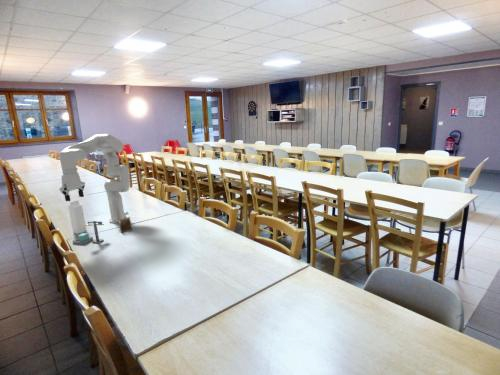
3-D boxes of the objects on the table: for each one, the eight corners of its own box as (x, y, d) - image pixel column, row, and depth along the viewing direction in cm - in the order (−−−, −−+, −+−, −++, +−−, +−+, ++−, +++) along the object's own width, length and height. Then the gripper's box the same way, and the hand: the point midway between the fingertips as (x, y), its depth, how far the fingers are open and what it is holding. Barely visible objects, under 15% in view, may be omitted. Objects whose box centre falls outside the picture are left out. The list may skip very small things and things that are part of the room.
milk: (73, 232, 210) (66, 202, 205) (81, 229, 216) (75, 199, 211) (79, 233, 208) (72, 202, 203) (87, 230, 213) (81, 200, 208)
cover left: (121, 232, 205) (120, 229, 211) (132, 230, 208) (131, 227, 214) (119, 223, 204) (118, 220, 210) (130, 221, 207) (129, 218, 213)
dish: (83, 238, 198) (83, 236, 198) (93, 239, 195) (92, 237, 195) (73, 243, 191) (72, 241, 190) (82, 244, 188) (82, 242, 188)
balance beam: (82, 225, 183) (82, 221, 183) (100, 224, 195) (100, 220, 196) (88, 225, 181) (88, 221, 182) (105, 225, 194) (105, 221, 194)
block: (84, 238, 195) (82, 233, 194) (89, 239, 194) (87, 233, 193) (78, 241, 191) (77, 235, 191) (83, 241, 190) (82, 235, 189)
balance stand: (92, 242, 190) (89, 224, 188) (97, 240, 194) (94, 222, 191) (98, 243, 189) (95, 225, 186) (103, 240, 192) (100, 223, 190)
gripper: (77, 168, 192) (82, 195, 196) (51, 174, 176) (57, 202, 180) (86, 168, 189) (91, 195, 193) (61, 174, 174) (67, 203, 177)
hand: (75, 198), depth 187 cm, fingers open, 9 cm apart
